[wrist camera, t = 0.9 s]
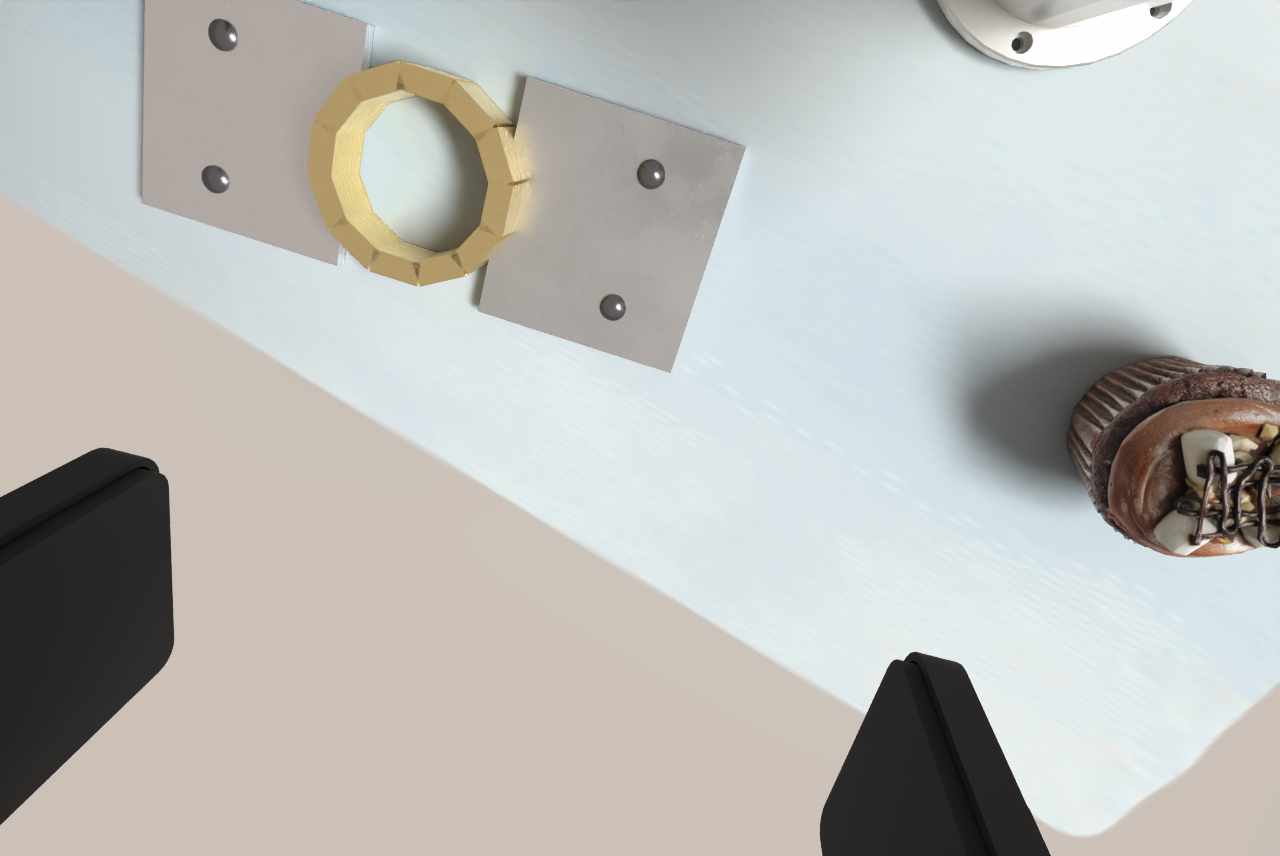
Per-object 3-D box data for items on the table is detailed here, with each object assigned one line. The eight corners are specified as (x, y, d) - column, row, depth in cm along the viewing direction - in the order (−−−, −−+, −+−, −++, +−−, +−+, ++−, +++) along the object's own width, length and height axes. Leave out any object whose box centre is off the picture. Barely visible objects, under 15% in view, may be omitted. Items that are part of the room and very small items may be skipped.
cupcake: (1048, 515, 42) (1139, 626, 32) (1050, 353, 38) (1153, 426, 29) (1235, 495, 40) (1388, 606, 31) (1256, 324, 36) (1434, 392, 27)
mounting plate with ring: (157, -45, 35) (109, -59, 33) (745, 147, 36) (746, 149, 33) (152, 201, 40) (110, 207, 37) (671, 368, 41) (667, 386, 38)
